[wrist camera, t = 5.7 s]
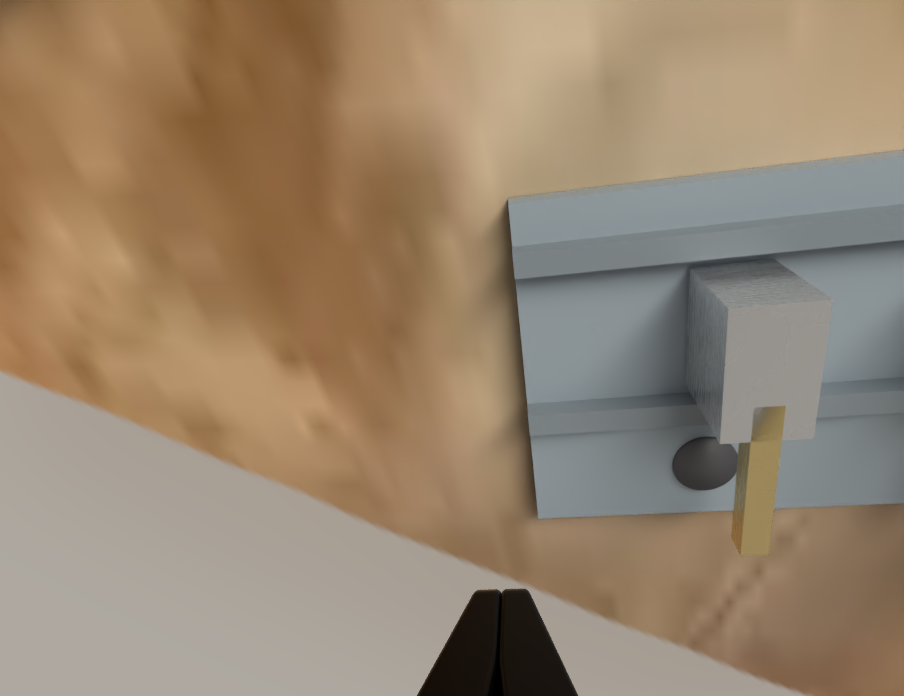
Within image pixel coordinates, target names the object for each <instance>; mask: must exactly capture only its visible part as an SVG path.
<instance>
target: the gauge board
mask: <svg viewBox="0 0 904 696" xmlns="http://www.w3.org/2000/svg"><path fill="white" fill-rule="evenodd" d="M508 208H509V218H510V229H511V239H512V256H513V267H514V277H515V281H516V292H517V302H518V312H519V323H520V333H521V344H522V354H523V365H524V375H525V386H526V396H527V409H528V423H529V433H530V438H531V448H532V459H533V469H534V480H535V490H536V500H537V511H538V519H545V518H568V517H592V516H615V515H639V514H662V513H686V512H709V511H733V510H734V498H735V485H736V473H737V460H738V447H739V443H731V444H720V443H719V442H718V440H717V438H716V436H715V435H714V433H713V431H712V430H711V428H710V426H709V424H708V423H707V421H706V419H705V417H704V416H703V414H702V412H701V410H700V409H699V407H698V405H697V403H696V402H695V400H694V398H693V396H692V395H691V393H690V391H689V389H688V388H687V386H686V384H685V373H686V343H687V312H688V282H689V267H697V266H707V265H717V264H727V263H737V262H747V261H757V260H767V259H775V260H776V261H778V262H779V263H781V264H782V265H784V266H785V267H786V268H788V269H789V270H791V271H792V272H794V273H795V274H797V275H798V276H800V277H801V278H803V279H804V280H806V281H807V282H809V283H810V284H812V285H813V286H815V287H816V288H817V289H819V290H820V291H822V292H823V293H825V294H826V295H828V296H829V297H831V298H832V299H833V306H832V313H831V320H830V327H829V334H828V341H827V349H826V356H825V363H824V370H823V377H822V384H821V391H820V398H819V405H818V412H817V419H816V426H815V433H814V439H800V440H783V441H782V444H781V453H780V462H779V470H778V479H777V488H776V496H775V505H774V509H780V508H803V507H827V506H850V505H874V504H897V503H904V150H899V151H891V152H883V153H874V154H866V155H858V156H850V157H842V158H833V159H825V160H817V161H809V162H800V163H792V164H784V165H776V166H768V167H759V168H751V169H743V170H735V171H727V172H718V173H710V174H702V175H694V176H685V177H677V178H669V179H661V180H653V181H644V182H636V183H628V184H620V185H612V186H603V187H595V188H587V189H579V190H570V191H562V192H554V193H546V194H538V195H529V196H521V197H513V198H508Z"/></svg>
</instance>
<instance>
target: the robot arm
mask: <svg viewBox="0 0 904 696" xmlns="http://www.w3.org/2000/svg"><path fill="white" fill-rule="evenodd" d="M417 696H578V694H577V692H576V690H575V688H574V686H573V684H572V682H571V679H570V677H569V675H568V673H567V671H566V669H565V667H564V665H563V662H562V660H561V658H560V656H559V654H558V652H557V650H556V648H555V646H554V643H553V641H552V639H551V637H550V635H549V633H548V631H547V629H546V626H545V624H544V622H543V620H542V618H541V616H540V614H539V612H538V610H537V607H536V605H535V603H534V601H533V599H532V597H531V595H530V593H529V591H528V590H526V589H505V590H504V591H503V592H502V593H501V592H500V591H499V590H497V589H496V590H478V591H476V592H475V593H474V594H473V595H472V597H471V599H470V601H469V603H468V604H467V606H466V608H465V610H464V612H463V613H462V615H461V617H460V619H459V621H458V623H457V624H456V626H455V628H454V630H453V632H452V633H451V635H450V637H449V639H448V641H447V643H446V644H445V646H444V648H443V650H442V652H441V653H440V655H439V657H438V659H437V660H436V662H435V664H434V666H433V668H432V669H431V671H430V673H429V675H428V677H427V679H426V680H425V683H424V684H423V686H422V688H421V689H420V691H419V693H418V695H417Z"/></svg>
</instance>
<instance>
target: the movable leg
mask: <svg viewBox="0 0 904 696" xmlns="http://www.w3.org/2000/svg"><path fill="white" fill-rule="evenodd" d="M832 306H833V299H832V298H831V297H829V296H828V295H826V294H825V293H823V292H822V291H820V290H819V289H817V288H816V287H815V286H813V285H812V284H810V283H809V282H807V281H806V280H804V279H803V278H801V277H800V276H798V275H797V274H795V273H794V272H792V271H791V270H789V269H788V268H786V267H785V266H784V265H782V264H781V263H779V262H778V261H776V260H775V259H767V260H757V261H747V262H737V263H727V264H717V265H707V266H697V267H689V282H688V312H687V343H686V373H685V384H686V386H687V388H688V389H689V391H690V393H691V395H692V396H693V398H694V400H695V402H696V403H697V405H698V407H699V409H700V410H701V412H702V414H703V416H704V417H705V419H706V421H707V423H708V424H709V426H710V428H711V430H712V431H713V433H714V435H715V436H716V438H717V440H718V442H719V443H720V444H731V443H739V447H738V460H737V473H736V485H735V498H734V510H733V523H732V535H731V537H732V539H733V541H734V543H735V546H736V548H737V550H738V552H739V554H740V556H753V555H769V548H770V539H771V531H772V522H773V513H774V505H775V496H776V488H777V479H778V470H779V462H780V453H781V444H782V441H783V440H800V439H814V433H815V426H816V419H817V412H818V405H819V398H820V391H821V384H822V377H823V370H824V363H825V356H826V349H827V341H828V334H829V327H830V320H831V313H832Z"/></svg>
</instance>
